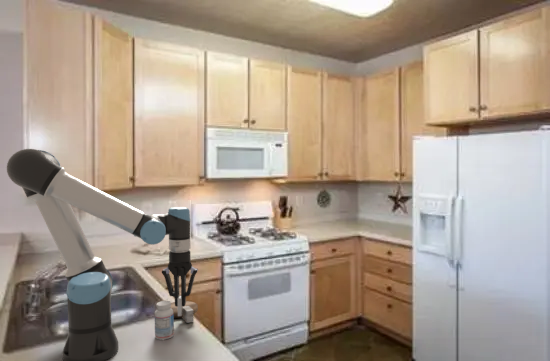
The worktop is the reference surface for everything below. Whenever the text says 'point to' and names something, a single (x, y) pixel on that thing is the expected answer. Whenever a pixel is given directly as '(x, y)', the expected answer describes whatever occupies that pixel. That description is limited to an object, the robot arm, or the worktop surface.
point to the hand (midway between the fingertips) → (180, 314)
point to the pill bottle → (164, 320)
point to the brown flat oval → (185, 311)
